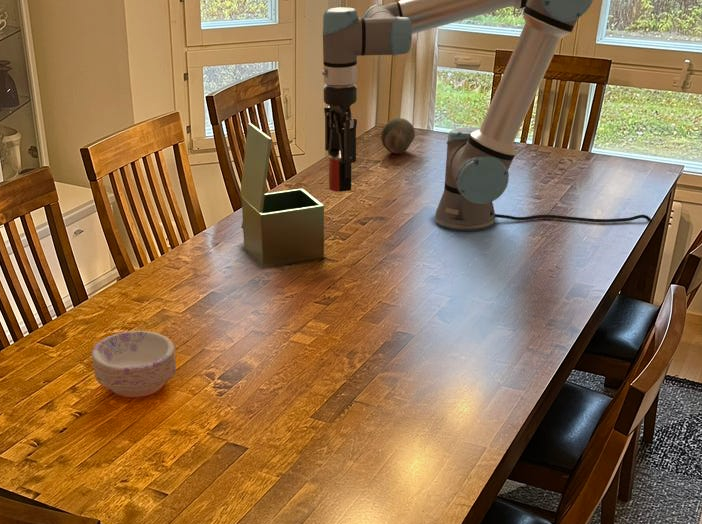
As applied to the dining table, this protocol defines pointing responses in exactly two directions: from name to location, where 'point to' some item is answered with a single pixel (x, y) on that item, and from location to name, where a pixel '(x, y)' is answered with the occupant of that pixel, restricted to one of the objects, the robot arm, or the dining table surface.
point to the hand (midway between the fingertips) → (340, 186)
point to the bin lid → (255, 167)
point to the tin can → (334, 171)
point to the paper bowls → (134, 362)
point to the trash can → (284, 229)
